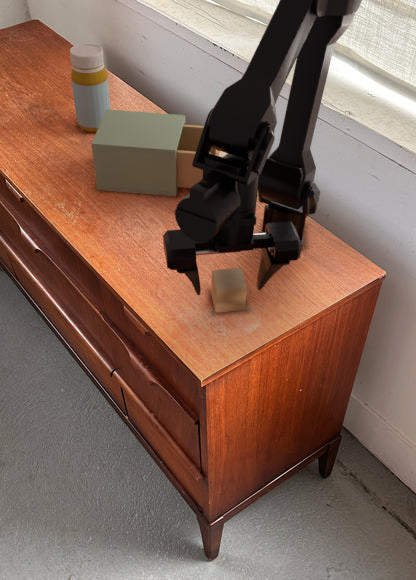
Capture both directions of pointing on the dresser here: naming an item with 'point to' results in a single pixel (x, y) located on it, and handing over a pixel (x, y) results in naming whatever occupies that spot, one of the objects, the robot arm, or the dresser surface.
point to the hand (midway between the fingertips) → (228, 290)
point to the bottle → (89, 86)
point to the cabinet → (137, 152)
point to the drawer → (190, 156)
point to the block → (228, 290)
